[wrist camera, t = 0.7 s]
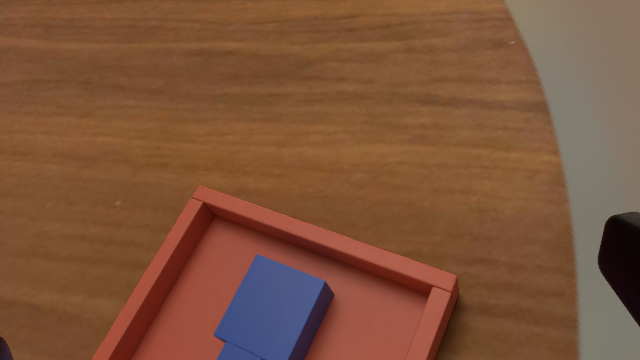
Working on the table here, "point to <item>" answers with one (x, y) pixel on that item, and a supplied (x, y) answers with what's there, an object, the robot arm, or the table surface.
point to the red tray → (294, 251)
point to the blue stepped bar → (273, 313)
